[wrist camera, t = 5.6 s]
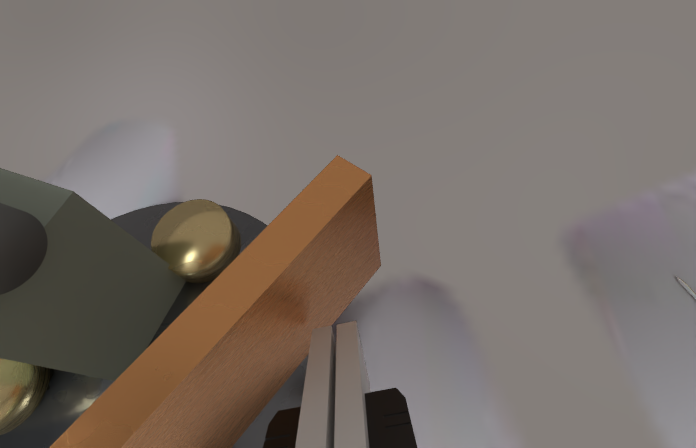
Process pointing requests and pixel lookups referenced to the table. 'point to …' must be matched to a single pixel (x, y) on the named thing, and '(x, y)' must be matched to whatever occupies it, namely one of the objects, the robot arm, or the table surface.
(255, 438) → the tribrach plate
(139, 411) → the lever
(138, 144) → the table surface
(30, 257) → the wedge with rod handle
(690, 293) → the multimeter
